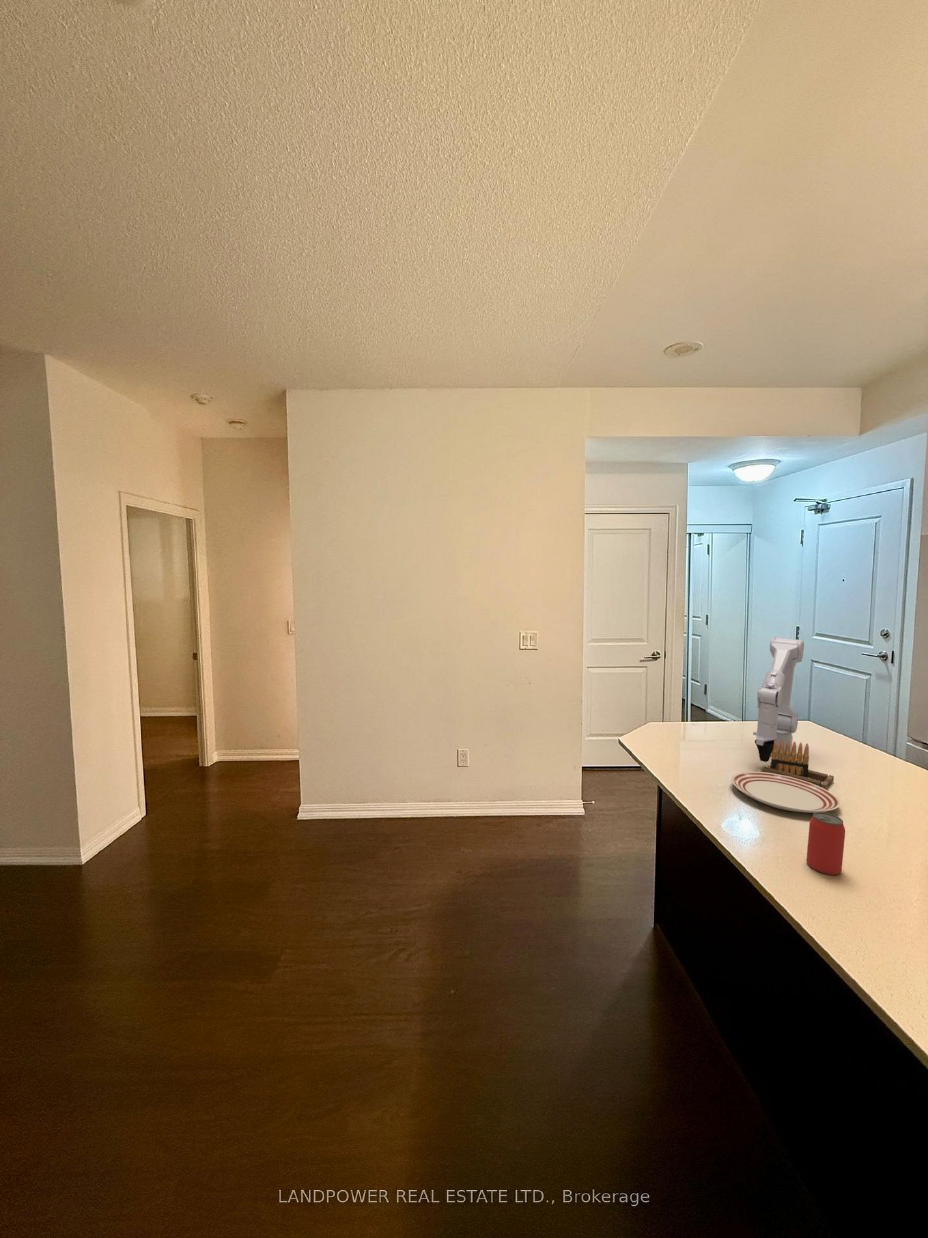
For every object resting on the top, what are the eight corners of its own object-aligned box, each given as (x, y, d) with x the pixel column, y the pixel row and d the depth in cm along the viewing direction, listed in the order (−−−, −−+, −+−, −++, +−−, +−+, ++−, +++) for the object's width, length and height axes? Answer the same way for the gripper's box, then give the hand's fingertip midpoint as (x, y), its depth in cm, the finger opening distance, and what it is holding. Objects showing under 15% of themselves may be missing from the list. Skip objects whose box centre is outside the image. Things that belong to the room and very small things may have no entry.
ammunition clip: (806, 777, 163) (810, 742, 162) (808, 779, 162) (811, 744, 160) (769, 771, 168) (772, 737, 167) (770, 773, 166) (773, 739, 165)
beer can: (799, 859, 115) (803, 811, 114) (825, 859, 116) (829, 810, 115) (821, 877, 109) (826, 825, 108) (849, 876, 109) (854, 824, 108)
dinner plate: (745, 772, 167) (746, 763, 167) (846, 799, 148) (847, 789, 148) (718, 797, 148) (719, 787, 147) (830, 832, 129) (831, 820, 128)
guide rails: (772, 765, 173) (772, 760, 173) (833, 782, 160) (833, 776, 160) (762, 774, 166) (762, 768, 165) (825, 791, 153) (825, 785, 152)
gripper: (761, 716, 176) (758, 752, 178) (747, 723, 167) (744, 762, 168) (783, 720, 171) (780, 758, 172) (770, 728, 161) (767, 768, 163)
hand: (764, 760), depth 170 cm, fingers closed
